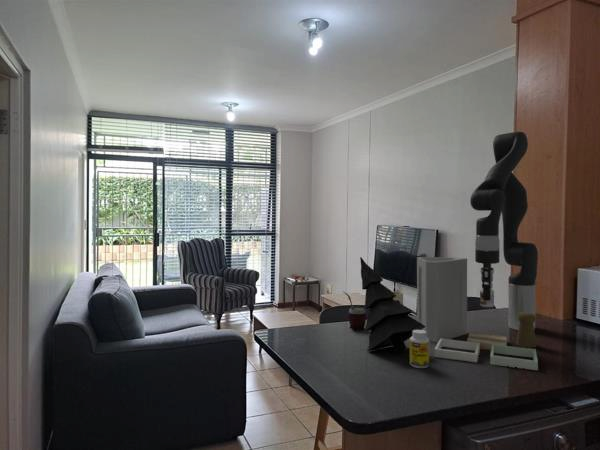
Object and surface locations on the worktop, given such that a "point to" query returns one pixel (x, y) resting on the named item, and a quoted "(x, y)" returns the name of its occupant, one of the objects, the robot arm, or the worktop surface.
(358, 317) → the mate gourd
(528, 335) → the cork
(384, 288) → the decorative tree
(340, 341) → the worktop surface
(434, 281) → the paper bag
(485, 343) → the birch board
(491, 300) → the pill bottle
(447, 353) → the offwhite tray
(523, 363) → the sage tray
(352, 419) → the worktop surface
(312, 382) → the worktop surface
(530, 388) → the worktop surface
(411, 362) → the supplement bottle
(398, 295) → the character mug
